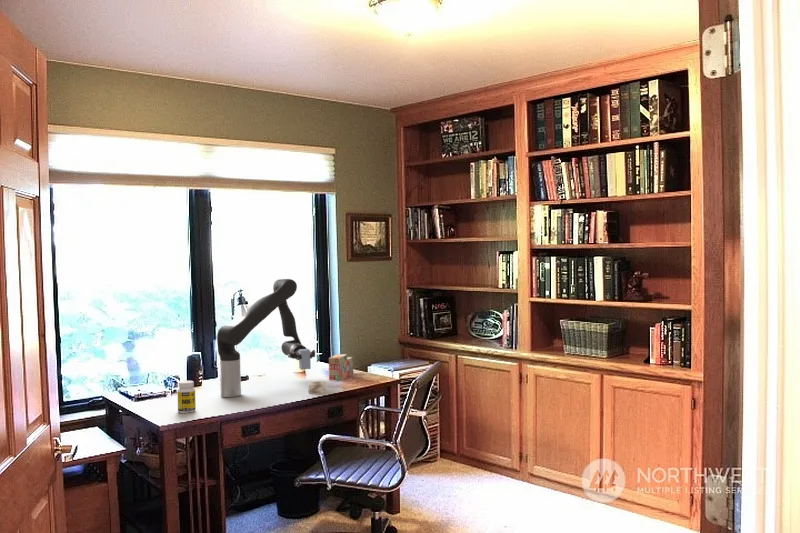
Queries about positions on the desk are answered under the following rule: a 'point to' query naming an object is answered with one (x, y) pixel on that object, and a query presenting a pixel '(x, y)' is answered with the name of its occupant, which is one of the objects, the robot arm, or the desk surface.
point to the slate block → (304, 359)
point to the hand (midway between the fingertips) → (306, 356)
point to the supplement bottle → (186, 397)
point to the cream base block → (317, 387)
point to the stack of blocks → (340, 367)
